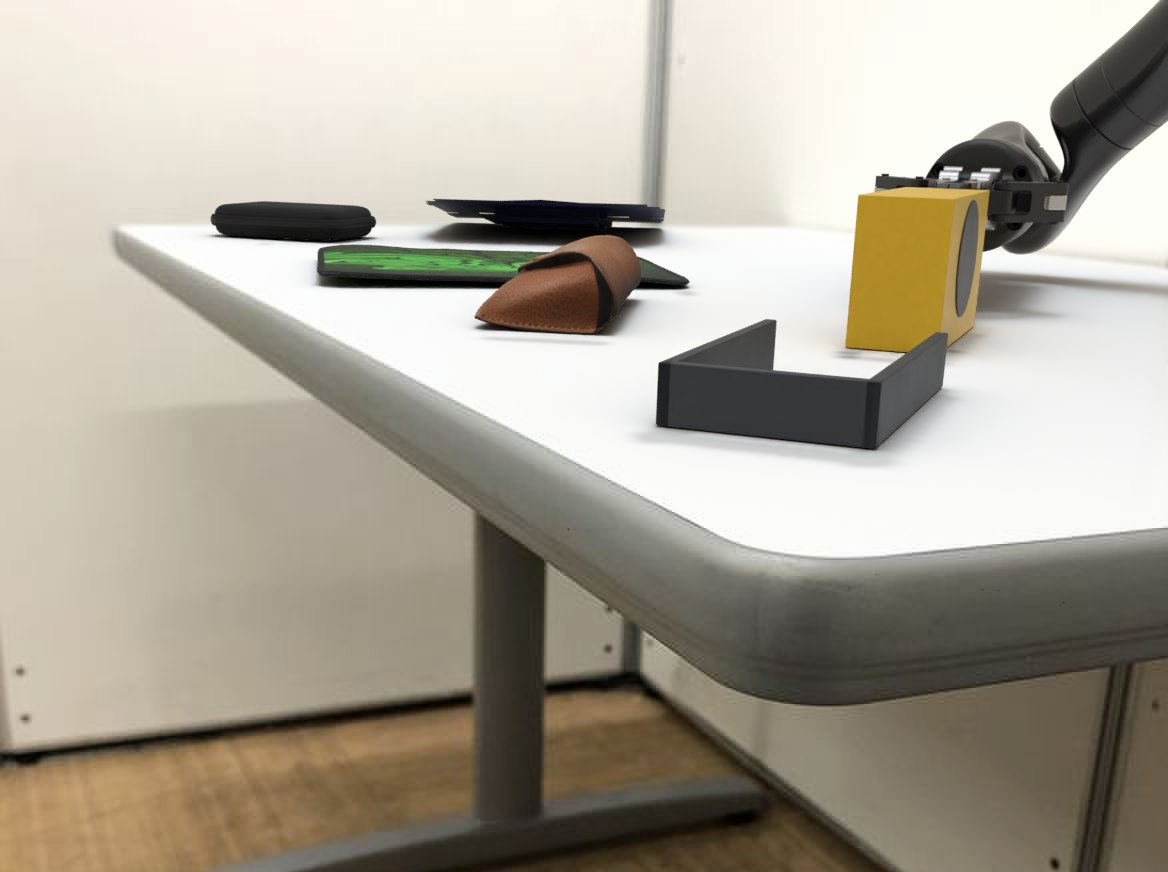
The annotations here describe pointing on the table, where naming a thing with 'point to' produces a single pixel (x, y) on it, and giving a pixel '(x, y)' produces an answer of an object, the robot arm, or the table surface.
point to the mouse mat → (446, 264)
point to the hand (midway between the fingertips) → (946, 203)
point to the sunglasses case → (567, 288)
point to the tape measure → (915, 266)
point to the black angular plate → (550, 213)
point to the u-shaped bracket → (792, 392)
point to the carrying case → (293, 220)
